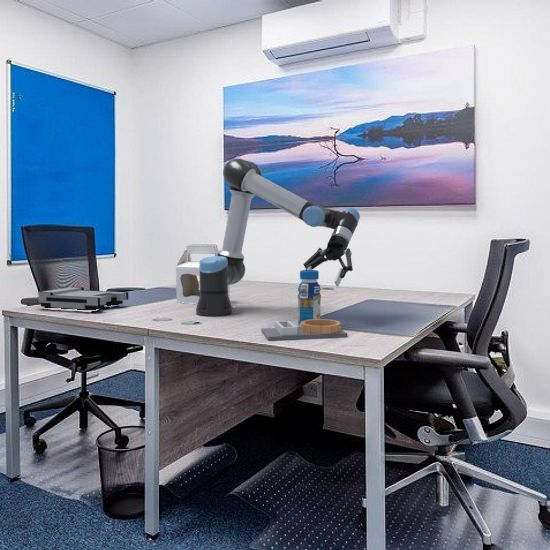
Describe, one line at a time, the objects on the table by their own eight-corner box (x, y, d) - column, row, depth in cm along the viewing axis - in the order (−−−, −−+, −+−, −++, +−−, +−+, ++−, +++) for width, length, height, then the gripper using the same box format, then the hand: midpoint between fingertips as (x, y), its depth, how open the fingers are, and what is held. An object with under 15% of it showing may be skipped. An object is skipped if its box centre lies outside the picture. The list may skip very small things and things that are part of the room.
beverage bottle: (294, 323, 188) (294, 269, 187) (316, 322, 191) (316, 269, 189) (302, 328, 180) (302, 271, 179) (324, 326, 183) (324, 271, 181)
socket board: (268, 340, 161) (268, 329, 160) (261, 331, 174) (261, 321, 174) (347, 336, 165) (347, 325, 165) (334, 328, 179) (334, 318, 179)
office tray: (98, 314, 214) (97, 295, 213) (38, 310, 225) (38, 292, 224) (128, 307, 233) (128, 289, 232) (72, 304, 244) (72, 287, 243)
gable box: (176, 303, 244) (174, 244, 241) (192, 299, 255) (191, 243, 253) (215, 305, 234) (214, 244, 231) (230, 302, 246) (229, 243, 243)
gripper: (371, 247, 194) (353, 291, 183) (315, 247, 208) (295, 287, 198) (365, 234, 189) (346, 278, 178) (308, 234, 204) (287, 274, 193)
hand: (319, 283), depth 188 cm, fingers open, 13 cm apart
